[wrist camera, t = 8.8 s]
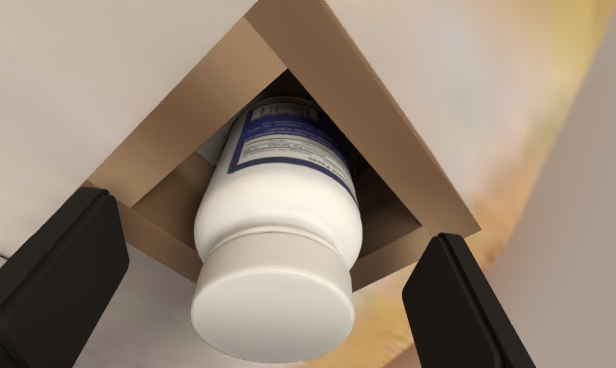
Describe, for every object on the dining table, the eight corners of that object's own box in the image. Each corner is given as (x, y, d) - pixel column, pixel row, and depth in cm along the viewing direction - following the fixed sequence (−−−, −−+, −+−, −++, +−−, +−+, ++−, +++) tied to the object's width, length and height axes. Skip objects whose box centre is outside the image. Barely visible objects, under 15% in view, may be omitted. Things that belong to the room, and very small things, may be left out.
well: (281, 250, 19) (274, 330, 15) (131, 134, 14) (62, 204, 10) (434, 156, 15) (481, 229, 11) (297, -39, 11) (292, -36, 7)
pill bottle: (296, 208, 17) (290, 392, 10) (209, 154, 15) (121, 336, 8) (367, 139, 15) (428, 315, 7) (275, 65, 13) (236, 206, 5)
